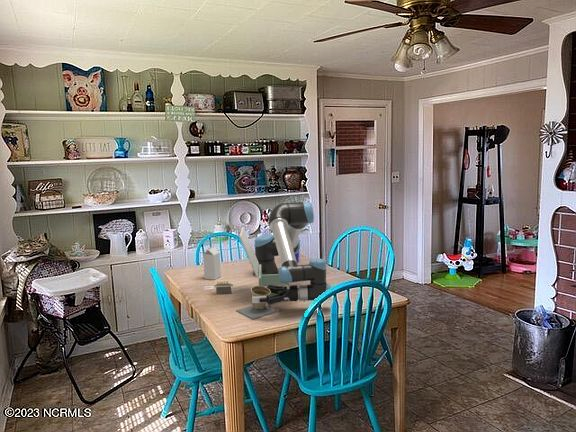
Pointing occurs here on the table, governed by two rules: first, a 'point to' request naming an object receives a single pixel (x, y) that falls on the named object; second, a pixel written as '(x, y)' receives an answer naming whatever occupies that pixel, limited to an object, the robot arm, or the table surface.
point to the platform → (223, 287)
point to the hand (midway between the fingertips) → (252, 295)
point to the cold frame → (269, 280)
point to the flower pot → (259, 295)
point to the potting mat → (256, 312)
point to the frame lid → (249, 251)
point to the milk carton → (212, 263)
